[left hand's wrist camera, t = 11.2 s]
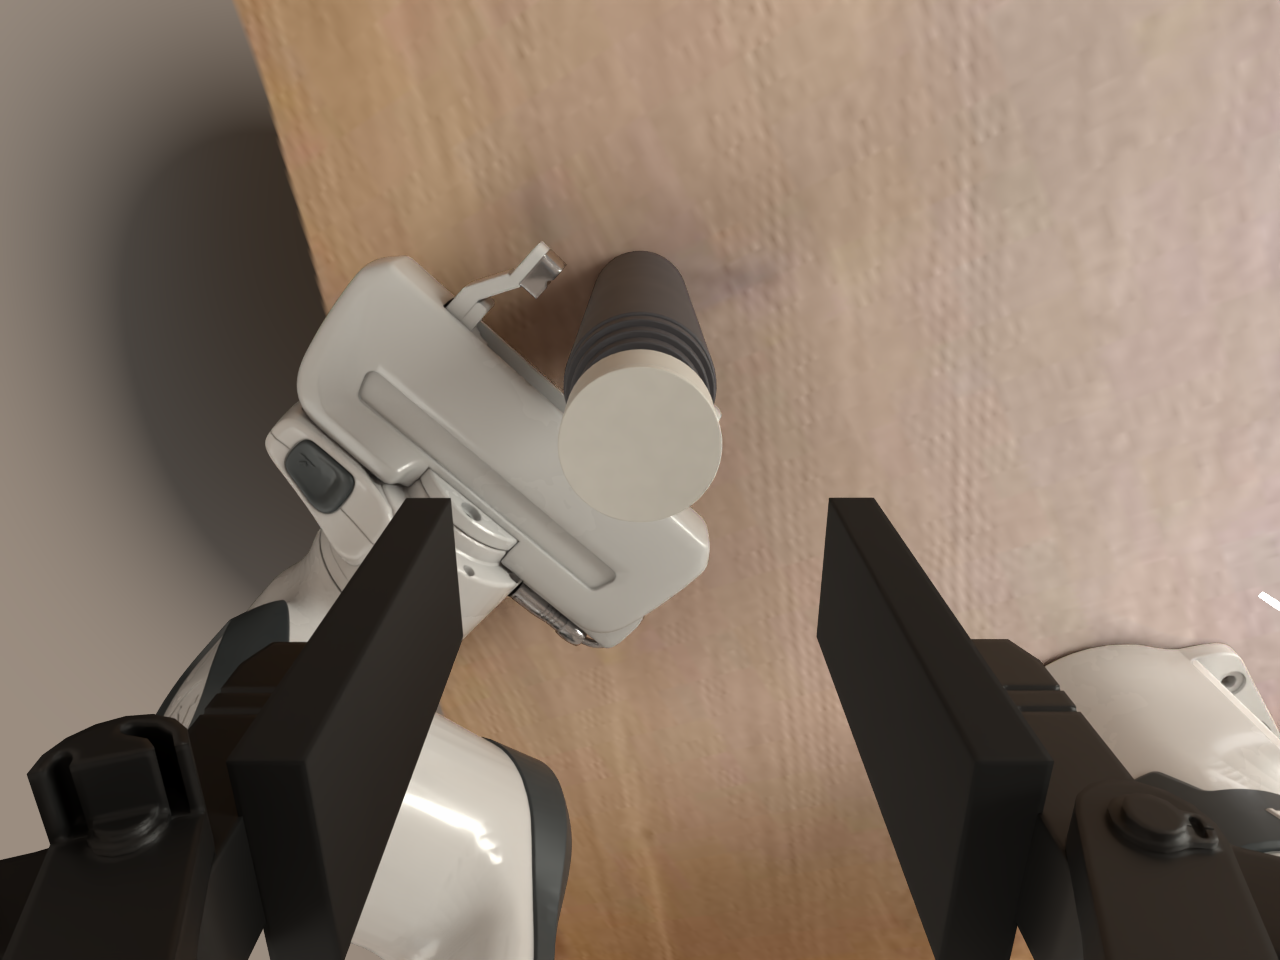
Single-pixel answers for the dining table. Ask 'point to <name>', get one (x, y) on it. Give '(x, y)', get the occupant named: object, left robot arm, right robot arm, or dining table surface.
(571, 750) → the dining table surface
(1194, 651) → the right robot arm
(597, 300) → the bottle
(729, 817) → the dining table surface
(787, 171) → the dining table surface
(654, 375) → the cap
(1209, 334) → the dining table surface
